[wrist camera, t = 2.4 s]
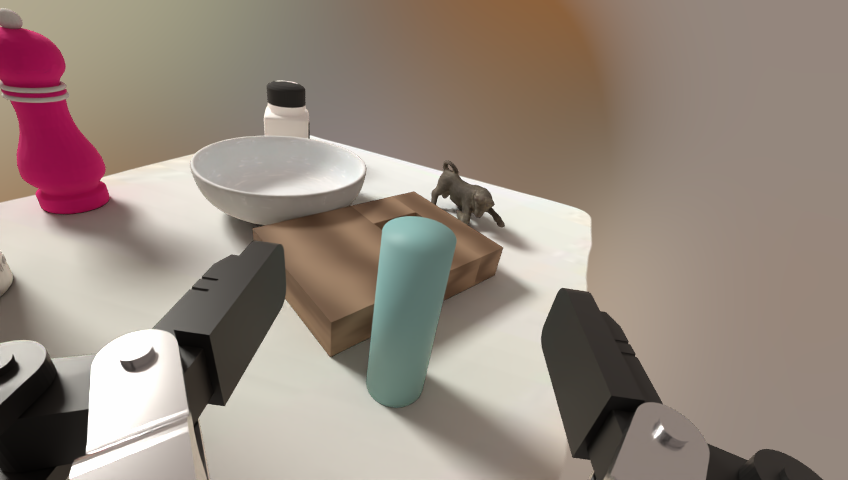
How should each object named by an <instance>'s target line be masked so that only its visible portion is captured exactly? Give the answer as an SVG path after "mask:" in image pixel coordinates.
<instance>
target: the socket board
mask: <svg viewBox="0 0 848 480" xmlns="http://www.w3.org/2000/svg"><path fill="white" fill-rule="evenodd" d="M405 216H417V217H424V218H429V219H432V220H435V221H438V222H440V223H442V224H444V225H445V226H447V227H448V228H450V229H451V230H452V231H453V233H454V234H455V236H456V239H457V242H456V247H455V251H454V256H453V260H452V264H451V269H450V273H449V277H448V282H447V286H446V290H445V295H444V299H443V301H444V300H446V299H448V298H450V297H452V296H454V295H456V294H458V293H460V292H462V291H464V290H466V289H468V288H470V287H472V286H474V285H476V284H478V283H480V282H482V281H484V280H486V279H488V278H490V277H492V276H494V275H495V272H496V269H497V266H498V263H499V260H500V256H501V253H502V250H503V247H502V246H500V245H498V244H497V243H495V242H494V241H492V240H490V239H489V238H487V237H486V236H484V235H482V234H481V233H479V232H478V231H476V230H474V229H473V228H471V227H470V226H468V225H467V224H465V223H463V222H462V221H460V220H459V219H457V218H455V217H454V216H452V215H451V214H449V213H447V212H446V211H444V210H443V209H441V208H439V207H438V206H436V205H435V204H433V203H431V202H430V201H428V200H427V199H425V198H424V197H422V196H420V195H419V194H417V193H416V192H410V193H405V194H401V195H397V196H392V197H388V198H383V199H379V200H375V201H370V202H366V203H362V204H357V205H353V206H348V207H344V208H340V209H335V210H331V211H326V212H322V213H318V214H313V215H309V216H304V217H300V218H296V219H291V220H287V221H282V222H278V223H274V224H269V225H265V226H261V227H256V228H252V230H253V239H254V240H257V241H263V242H270V243H276V244H282V245H283V248H284V255H285V272H286V296H285V299H286V300H287V301H288V303H289V304H290V305H291V307H292V308H293V309H294V310H295V312H296V313H297V314H298V316H299V317H300V318H301V320H302V321H303V322H304V324H305V325H306V326H307V327H308V329H309V330H310V331H311V333H312V334H313V335H314V337H315V338H316V339H317V340H318V342H319V343H320V344H321V346H322V347H323V348H324V350H325V351H326V352H327V354H328V355H329V356H330V357H332V356H334V355H336V354H338V353H340V352H342V351H344V350H346V349H348V348H350V347H352V346H354V345H356V344H358V343H360V342H362V341H364V340H366V339H368V338H370V337H371V332H372V323H373V313H374V304H375V294H376V285H377V275H378V266H379V256H380V247H381V237H382V229H383V227H384V225H385V224H386V223H387V222H389V221H390V220H392V219H395V218H399V217H405Z"/></svg>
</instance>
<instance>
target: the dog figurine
mask: <svg viewBox="0 0 848 480" xmlns="http://www.w3.org/2000/svg"><path fill="white" fill-rule="evenodd" d="M448 164H449V165H450V166H451V167H452V168H453V171H451V170H449V168H448ZM443 169H444V172H443V173H442V175H441V176H440V178H439V180H438V184H437V187H436V188H435V189H434V190H433V191H432V200H431V203H433V204H435V205H436V203H437V198H438V196H439V195H442V197H443V198H447V197H448V196H449V195H450V199H451V201H452V202H454V203H455V204H456V205H457V206H458V207H459V208H461V209H462V211H459V210H457V211H456V213H457V217H458V219H459V220H460V221H462V222H463V223H465V224H468V223H469V222H470V216H471V213H473V214H475V216H476V217H477V218H480V217H481V216H482V215H483V213H484V212H488V213H489V214H490V215H492V217H493V219H494V221H495V222H497V225H498V226H499V227H504V226H505V225H504V222H503V221H502V219H501V217H500V216H499V215H498V214H497V213H496V212H495V211H494V210H493V208H492V206H494V202H493V200H492V196H491V194H490V192H489V191H488V190H487V189H486V188H483V187H481V186H478V185H471V184H468V183H467V182H465V181H463V180H462V179H461V178H460V177H459V175H458V170H457V168H456V167H455V165H454V164H452V162H451V161H444V163H443Z"/></svg>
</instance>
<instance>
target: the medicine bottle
mask: <svg viewBox="0 0 848 480" xmlns="http://www.w3.org/2000/svg"><path fill="white" fill-rule="evenodd" d="M267 97H268V106H267V107H266V112H265V115H264V129H265V136H291V137H300V138H307V139H310V134H309V133H310V131H309V113H308V110H306V109H305V88H304V87H303V86H301V85H300V84H298V83H295V82H290V81H273V82H271V83H269V84H268V85H267Z"/></svg>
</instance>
